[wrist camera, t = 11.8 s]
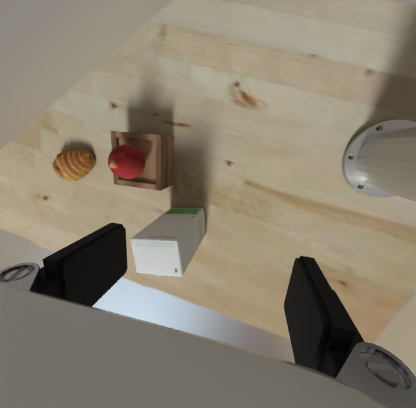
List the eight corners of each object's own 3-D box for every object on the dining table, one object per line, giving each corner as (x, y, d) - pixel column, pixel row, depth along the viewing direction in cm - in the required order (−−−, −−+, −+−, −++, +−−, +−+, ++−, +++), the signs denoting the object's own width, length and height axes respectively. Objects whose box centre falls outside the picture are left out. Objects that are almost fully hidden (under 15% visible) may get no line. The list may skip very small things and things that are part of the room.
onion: (121, 149, 37) (88, 149, 29) (147, 141, 35) (119, 139, 28) (131, 178, 38) (102, 186, 31) (157, 171, 37) (132, 177, 29)
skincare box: (204, 207, 42) (179, 239, 27) (206, 235, 44) (184, 278, 29) (169, 207, 44) (128, 237, 29) (172, 234, 46) (135, 274, 31)
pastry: (88, 141, 44) (74, 141, 40) (102, 169, 45) (89, 171, 41) (60, 157, 47) (44, 158, 43) (74, 183, 48) (60, 186, 44)
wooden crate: (173, 136, 39) (161, 135, 34) (172, 184, 42) (160, 190, 37) (129, 133, 41) (110, 131, 35) (131, 179, 44) (114, 184, 38)
